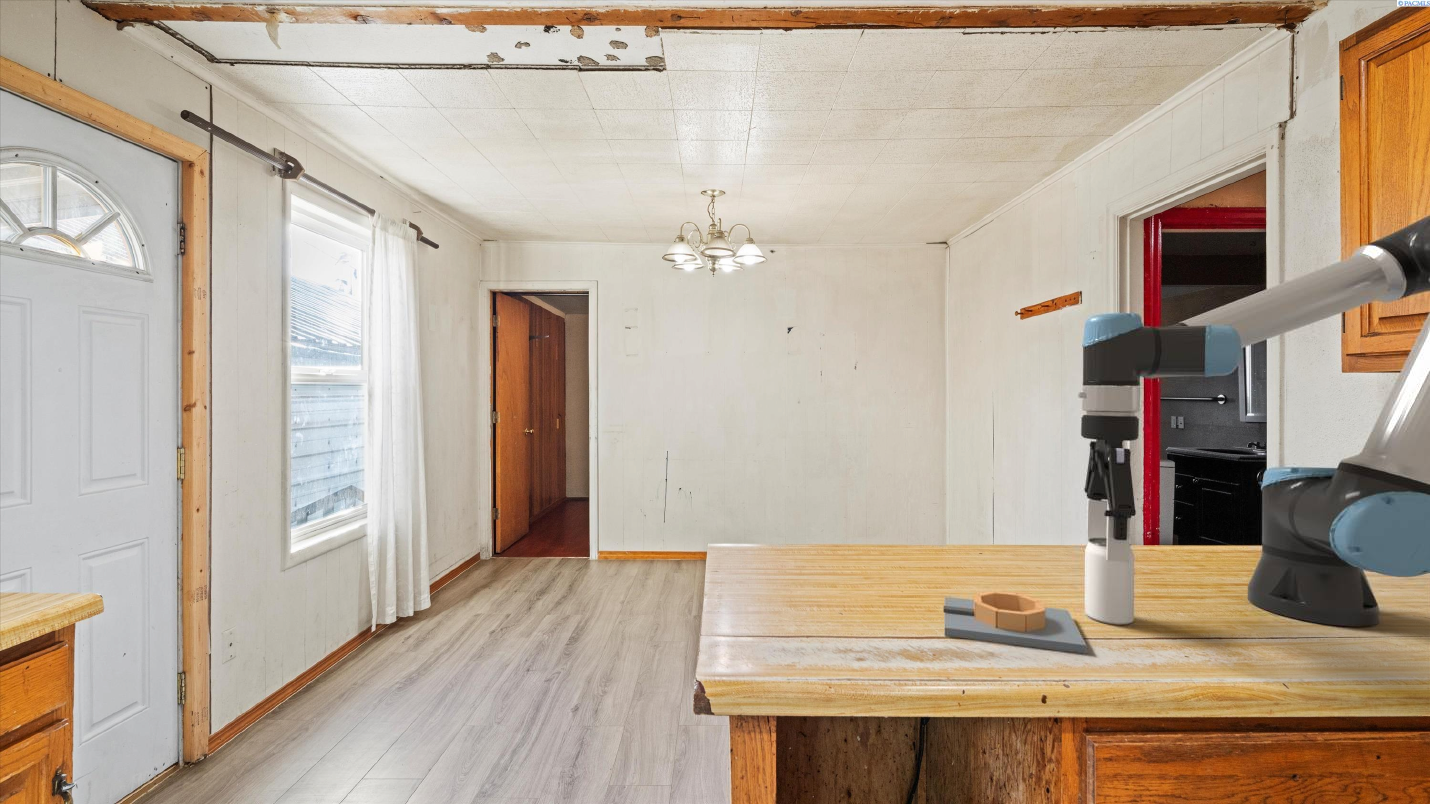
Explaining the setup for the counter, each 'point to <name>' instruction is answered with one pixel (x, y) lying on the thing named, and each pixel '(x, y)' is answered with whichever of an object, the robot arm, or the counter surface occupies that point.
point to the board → (1012, 622)
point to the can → (1108, 585)
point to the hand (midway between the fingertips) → (1106, 549)
